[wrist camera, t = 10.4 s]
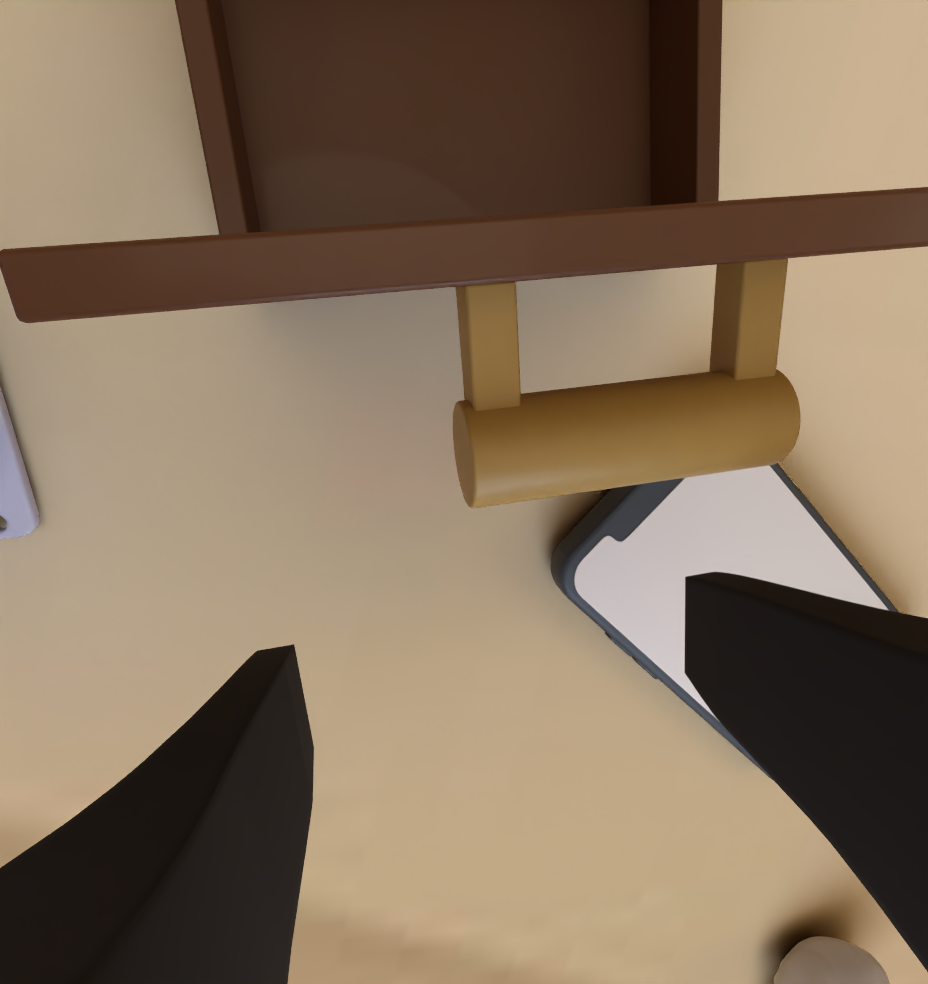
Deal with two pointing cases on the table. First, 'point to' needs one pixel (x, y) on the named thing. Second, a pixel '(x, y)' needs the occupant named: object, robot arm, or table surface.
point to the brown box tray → (451, 107)
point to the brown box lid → (494, 329)
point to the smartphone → (698, 560)
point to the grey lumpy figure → (829, 964)
